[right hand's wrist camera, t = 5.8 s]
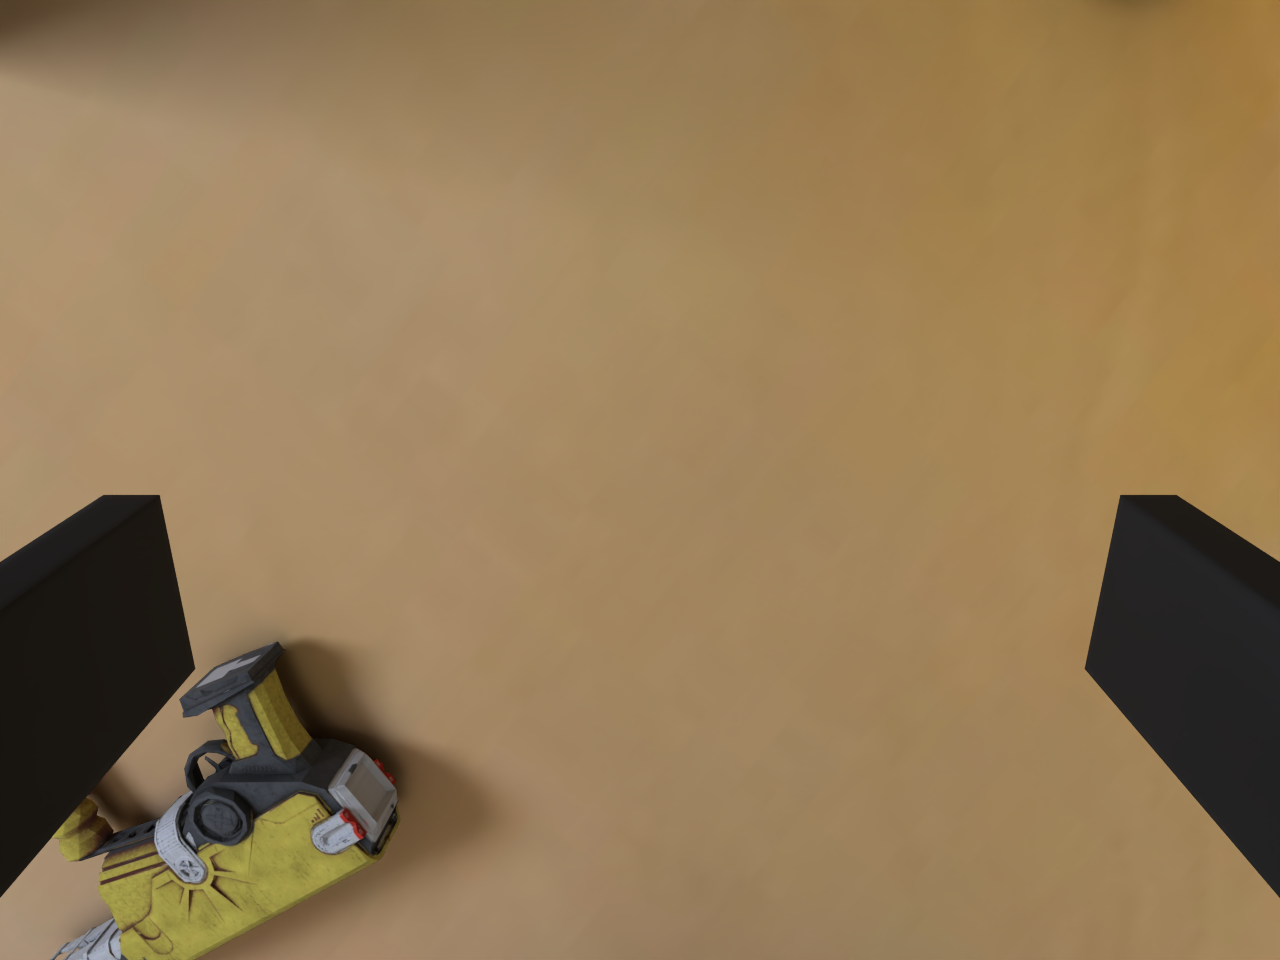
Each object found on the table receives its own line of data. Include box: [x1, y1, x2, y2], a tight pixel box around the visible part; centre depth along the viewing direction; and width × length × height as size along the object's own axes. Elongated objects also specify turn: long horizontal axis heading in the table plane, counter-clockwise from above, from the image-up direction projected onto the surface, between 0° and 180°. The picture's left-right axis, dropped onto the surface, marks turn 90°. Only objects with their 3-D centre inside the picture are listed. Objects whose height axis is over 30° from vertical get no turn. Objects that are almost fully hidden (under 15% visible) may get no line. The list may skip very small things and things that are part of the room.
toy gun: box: [50, 642, 400, 960], centre depth 46 cm, size 5×24×15 cm
